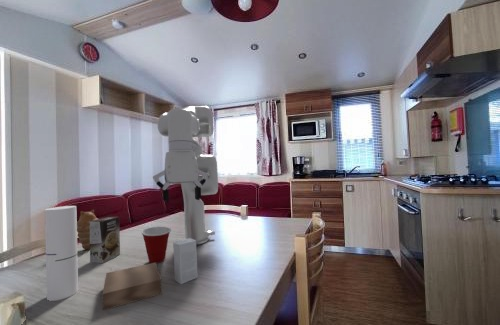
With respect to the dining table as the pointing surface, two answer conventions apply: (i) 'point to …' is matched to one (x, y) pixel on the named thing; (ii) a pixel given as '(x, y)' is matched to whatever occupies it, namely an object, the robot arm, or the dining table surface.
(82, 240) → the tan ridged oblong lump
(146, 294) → the walnut base
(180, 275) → the skincare box
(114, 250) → the coffee box
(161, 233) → the plastic cup
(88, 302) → the dining table surface
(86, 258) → the dining table surface
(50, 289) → the cylindrical container
